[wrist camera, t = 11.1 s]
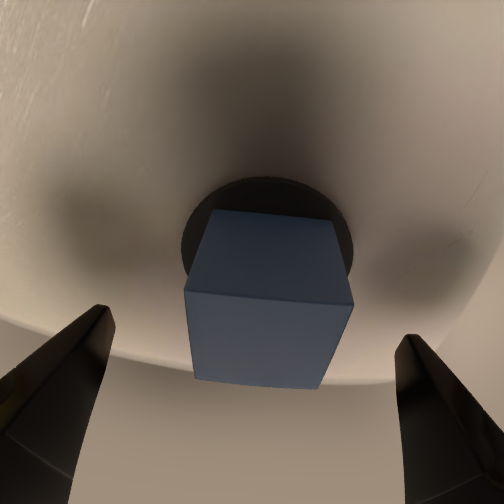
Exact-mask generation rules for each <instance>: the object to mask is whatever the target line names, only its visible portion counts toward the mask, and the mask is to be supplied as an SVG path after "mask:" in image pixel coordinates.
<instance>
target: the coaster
mask: <svg viewBox="0 0 504 504" xmlns="http://www.w3.org/2000/svg"><path fill="white" fill-rule="evenodd" d="M214 209H218V210H230V211H241V212H252V213H263V214H273V215H283V216H293V217H302V218H311V219H320V220H329V221H332V223H333V227H334V230H335V233H336V237H337V240H338V244H339V247H340V251H341V255H342V258H343V262H344V266H345V269H346V273H347V277H348V275H349V273H350V270H351V266H352V261H353V243H352V238H351V234H350V231H349V229H348V226H347V223H346V221H345V219H344V218H343V216H342V214H341V213H340V211H339V210H338V209H337V208H336V206H335V205H334V204H333V203H332V202H331V201H330V200H329V199H328V198H327V197H326V196H324V195H323V194H321V193H320V192H318V191H317V190H315V189H313V188H311V187H309V186H308V185H306V184H303V183H300V182H297V181H294V180H291V179H286V178H281V177H270V176H263V177H251V178H246V179H241V180H238V181H235V182H231V183H229V184H227V185H225V186H223V187H220V188H219V189H217V190H216V191H214V192H212V193H211V194H209V195H208V196H207V197H206V198H205V199H204V200H203V201H202V202H201V203H200V204H199V205H198V206H197V207H196V209H195V210H194V212H193V213H192V215H191V217H190V218H189V220H188V222H187V225H186V227H185V230H184V232H183V237H182V243H181V254H182V261H183V265H184V269H185V271H186V273H187V276H188V275H189V272H190V270H191V267H192V264H193V261H194V259H195V256H196V253H197V251H198V248H199V245H200V243H201V240H202V237H203V235H204V232H205V229H206V227H207V224H208V222H209V219H210V216H211V214H212V211H213V210H214Z"/></svg>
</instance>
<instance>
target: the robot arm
mask: <svg viewBox="0 0 504 504" xmlns="http://www.w3.org/2000/svg"><path fill="white" fill-rule="evenodd" d="M115 328H116V326H115V322H114V319H113V316H112V313H111V310H110V308H109V307H108V306H106V305H100V304H97V305H95V306H93V307H92V308H90V309H89V310H88V311H86V312H85V313H84V314H82V315H81V316H80V317H78V318H77V319H76V320H74V321H73V322H72V323H71V324H69V325H68V326H67V327H65V328H64V329H63V330H61V331H60V332H59V333H57V334H56V335H55V336H54V337H52V338H51V339H50V340H49V341H47V342H46V343H45V344H43V345H42V346H41V347H40V348H38V349H37V350H36V351H35V352H33V353H32V354H31V355H30V356H28V357H27V358H26V359H25V360H24V361H22V362H21V363H20V364H18V365H17V366H16V368H13V369H12V370H11V371H10V372H9V373H7V374H6V375H5V376H4V377H2V378H1V379H0V504H68V500H69V495H70V491H71V486H72V482H73V477H74V473H75V469H76V465H77V461H78V457H79V454H80V450H81V446H82V443H83V439H84V436H85V432H86V429H87V426H88V423H89V419H90V416H91V413H92V410H93V406H94V403H95V400H96V397H97V394H98V391H99V388H100V385H101V383H102V379H103V377H104V373H105V370H106V366H107V362H108V357H109V353H110V349H111V345H112V341H113V337H114V334H115ZM395 374H396V396H397V406H398V413H399V422H400V431H401V441H402V452H403V466H404V483H405V504H504V432H503V431H502V430H501V429H500V428H499V427H498V426H497V424H496V423H495V422H494V421H493V420H492V418H491V417H490V416H489V415H488V414H487V413H486V411H485V410H483V408H482V406H481V405H480V404H479V403H478V402H477V400H476V399H475V398H474V397H473V396H472V394H471V393H470V392H469V391H468V390H467V388H466V387H465V386H464V385H463V384H462V383H461V381H460V380H459V379H458V378H457V377H456V376H455V375H454V373H453V372H452V371H451V370H450V369H449V368H448V367H447V365H446V364H445V363H444V362H443V361H442V360H441V359H440V358H439V357H438V355H437V354H436V353H435V352H434V351H433V350H432V349H431V348H430V347H429V345H428V344H427V343H426V342H425V341H424V340H423V339H422V338H421V337H420V336H419V335H417V334H407V335H405V336H404V338H403V339H402V341H401V343H400V344H399V346H398V347H397V349H396V351H395Z"/></svg>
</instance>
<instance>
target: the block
mask: <svg viewBox="0 0 504 504" xmlns="http://www.w3.org/2000/svg"><path fill="white" fill-rule="evenodd" d="M184 298H185V308H186V316H187V325H188V333H189V340H190V348H191V355H192V362H193V369H194V376H195V379H200V380H206V381H214V382H222V383H231V384H240V385H250V386H261V387H274V388H291V389H318V387H319V385H320V383H321V381H322V379H323V377H324V375H325V372H326V370H327V368H328V366H329V364H330V362H331V359H332V357H333V355H334V353H335V350H336V348H337V346H338V343H339V341H340V339H341V336H342V334H343V332H344V329H345V327H346V324H347V322H348V320H349V317H350V315H351V312H352V310H353V307H354V301H353V297H352V293H351V289H350V285H349V281H348V277H347V273H346V269H345V266H344V262H343V258H342V255H341V251H340V247H339V244H338V240H337V237H336V233H335V230H334V227H333V223H332V221H329V220H320V219H311V218H302V217H293V216H283V215H273V214H263V213H252V212H241V211H230V210H218V209H214V210H213V211H212V214H211V216H210V219H209V222H208V224H207V227H206V229H205V232H204V235H203V237H202V240H201V243H200V245H199V248H198V251H197V253H196V256H195V259H194V261H193V264H192V267H191V270H190V272H189V275H188V278H187V281H186V284H185V286H184Z"/></svg>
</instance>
